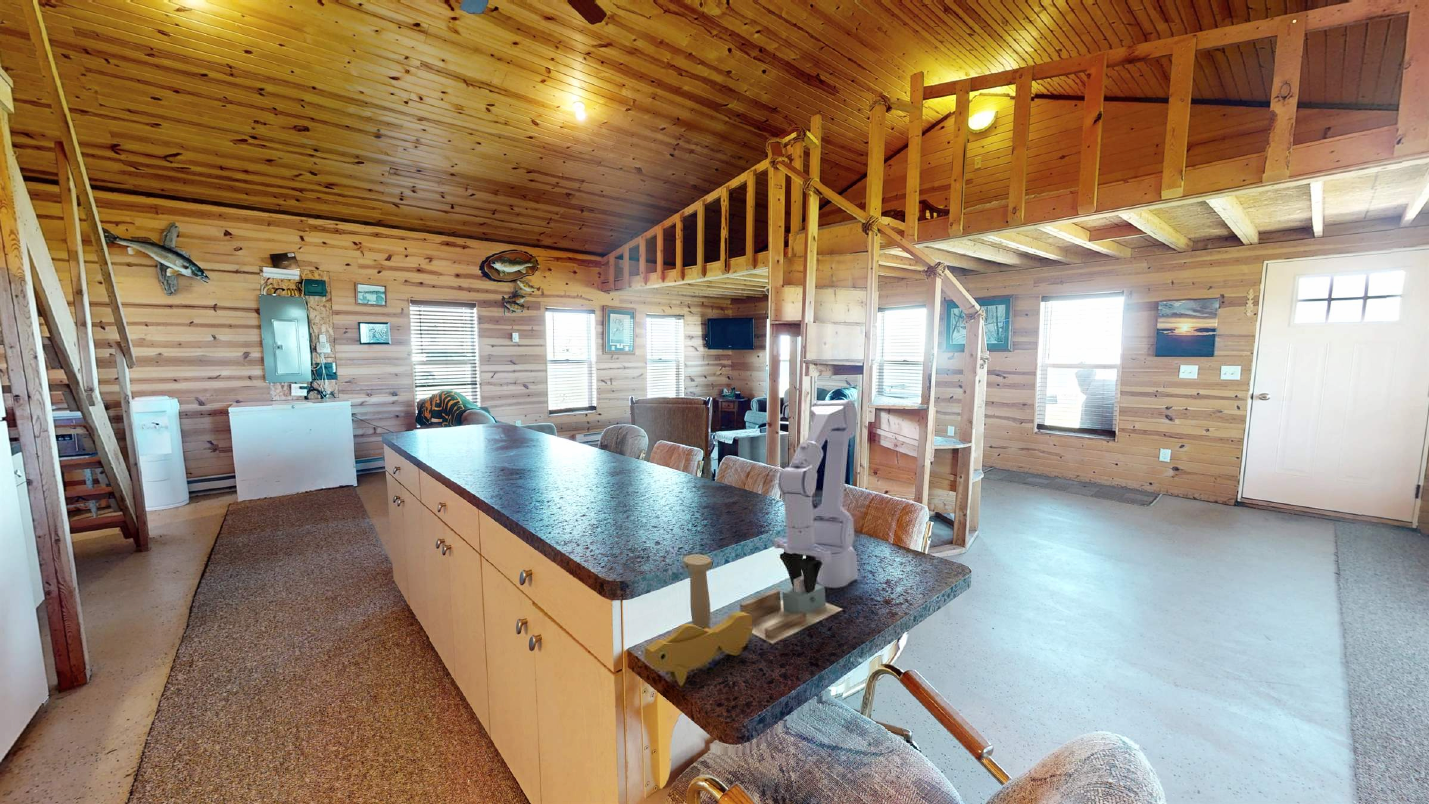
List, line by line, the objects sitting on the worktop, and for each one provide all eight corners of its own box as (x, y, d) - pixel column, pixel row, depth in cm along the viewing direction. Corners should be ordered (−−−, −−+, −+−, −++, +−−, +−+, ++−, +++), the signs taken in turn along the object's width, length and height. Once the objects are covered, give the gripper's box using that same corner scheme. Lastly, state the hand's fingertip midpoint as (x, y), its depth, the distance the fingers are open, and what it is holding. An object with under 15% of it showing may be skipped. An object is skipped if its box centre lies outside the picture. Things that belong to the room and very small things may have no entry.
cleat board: (800, 596, 117) (799, 575, 117) (843, 613, 108) (841, 590, 108) (731, 626, 105) (730, 602, 105) (772, 648, 96) (771, 622, 96)
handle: (700, 643, 99) (695, 566, 99) (683, 631, 105) (678, 558, 104) (721, 635, 102) (716, 560, 101) (703, 624, 107) (698, 552, 107)
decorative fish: (648, 694, 82) (656, 628, 83) (638, 685, 84) (646, 622, 85) (751, 671, 96) (757, 615, 97) (740, 664, 98) (746, 610, 99)
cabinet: (809, 598, 114) (808, 569, 113) (828, 606, 109) (826, 575, 109) (783, 610, 109) (781, 580, 109) (802, 618, 105) (800, 587, 104)
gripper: (762, 522, 112) (766, 584, 113) (812, 535, 101) (816, 604, 101) (785, 515, 116) (789, 575, 117) (836, 527, 105) (840, 593, 105)
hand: (803, 588), depth 109 cm, fingers open, 3 cm apart
